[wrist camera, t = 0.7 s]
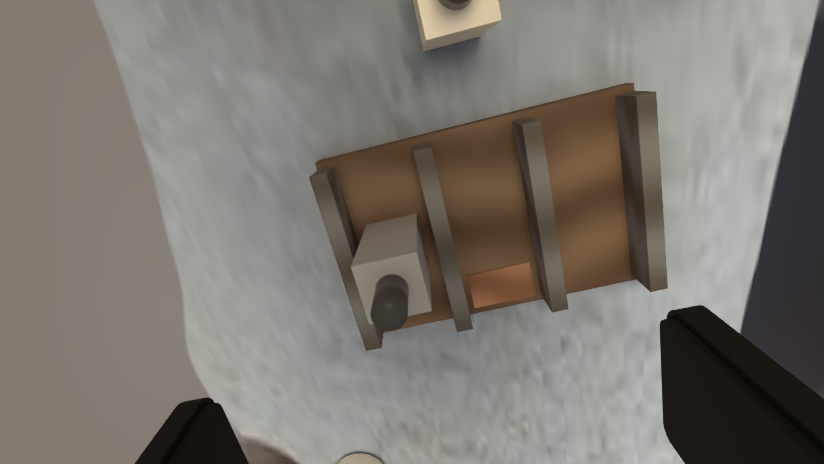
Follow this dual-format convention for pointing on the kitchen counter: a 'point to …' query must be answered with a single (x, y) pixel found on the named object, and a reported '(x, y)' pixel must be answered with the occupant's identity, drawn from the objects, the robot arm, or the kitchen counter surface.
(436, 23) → the cream plug
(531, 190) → the wooden divided tray
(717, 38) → the kitchen counter surface
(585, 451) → the kitchen counter surface
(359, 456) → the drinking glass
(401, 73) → the kitchen counter surface
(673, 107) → the kitchen counter surface
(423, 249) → the grey plug
